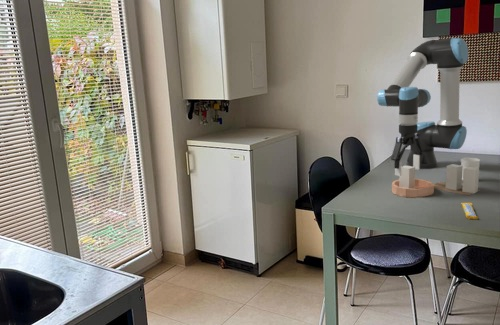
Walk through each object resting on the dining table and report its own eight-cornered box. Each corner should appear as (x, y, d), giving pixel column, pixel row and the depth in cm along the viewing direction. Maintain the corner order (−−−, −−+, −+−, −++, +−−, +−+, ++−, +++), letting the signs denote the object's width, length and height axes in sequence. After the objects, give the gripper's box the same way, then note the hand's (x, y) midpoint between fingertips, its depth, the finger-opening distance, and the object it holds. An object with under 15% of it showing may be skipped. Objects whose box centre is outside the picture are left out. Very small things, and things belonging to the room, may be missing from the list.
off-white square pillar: (465, 189, 196) (466, 166, 194) (477, 190, 193) (479, 167, 190) (462, 191, 193) (463, 168, 191) (474, 193, 190) (475, 170, 187)
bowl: (406, 184, 209) (407, 176, 208) (441, 191, 196) (442, 183, 195) (384, 192, 199) (384, 184, 198) (419, 200, 186) (419, 191, 185)
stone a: (404, 187, 203) (405, 165, 201) (414, 189, 199) (415, 166, 197) (399, 189, 200) (399, 167, 198) (408, 191, 197) (409, 168, 194)
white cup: (480, 182, 206) (482, 161, 204) (462, 182, 208) (463, 161, 206) (476, 178, 214) (477, 157, 212) (458, 178, 215) (459, 157, 213)
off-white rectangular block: (451, 186, 201) (452, 164, 199) (461, 188, 198) (462, 165, 196) (445, 188, 199) (446, 165, 197) (456, 190, 195) (457, 167, 193)
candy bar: (479, 221, 162) (479, 216, 161) (466, 220, 163) (466, 215, 163) (472, 206, 177) (472, 201, 177) (460, 205, 179) (461, 201, 178)
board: (440, 182, 209) (440, 181, 209) (482, 190, 195) (482, 189, 194) (425, 188, 202) (425, 187, 202) (468, 196, 188) (468, 195, 187)
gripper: (398, 129, 183) (397, 179, 188) (432, 120, 198) (431, 168, 203) (382, 127, 189) (382, 176, 194) (417, 119, 204) (416, 165, 209)
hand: (407, 172), depth 198 cm, fingers open, 13 cm apart
